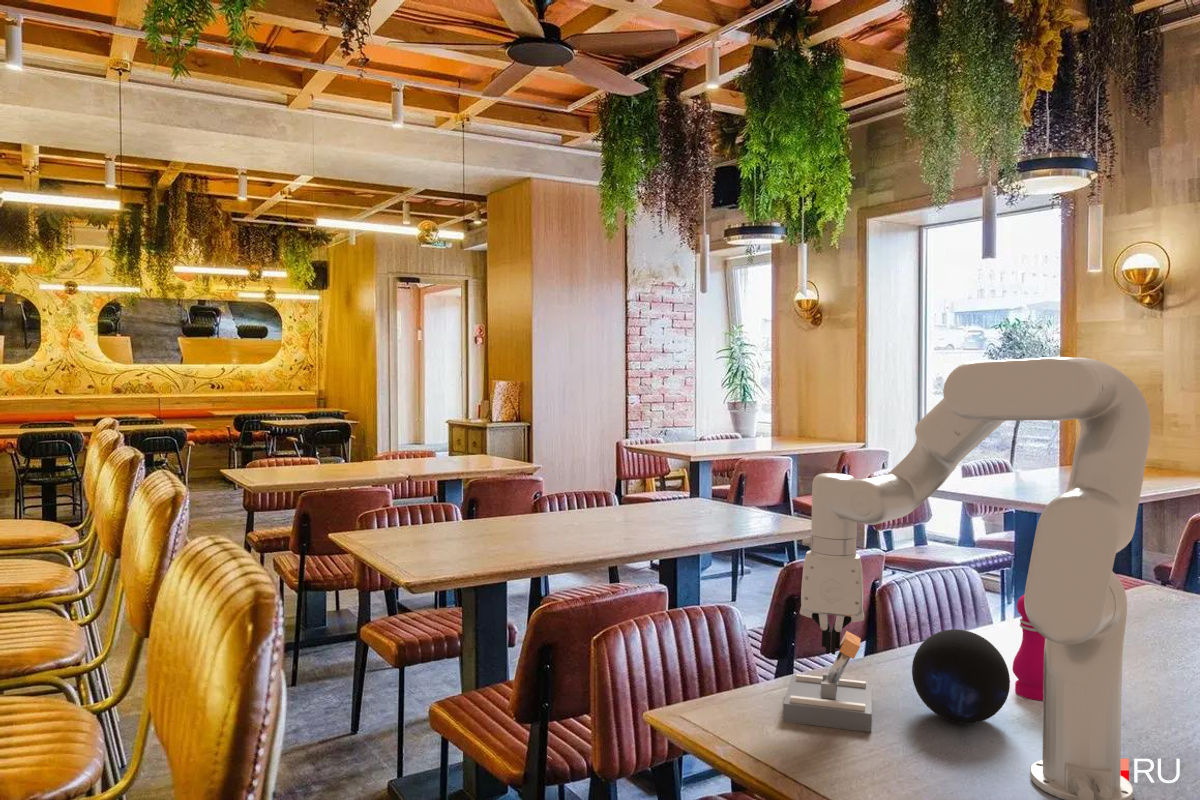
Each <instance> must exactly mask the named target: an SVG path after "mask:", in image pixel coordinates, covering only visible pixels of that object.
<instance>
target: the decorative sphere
mask: <svg viewBox="0 0 1200 800" xmlns="http://www.w3.org/2000/svg"><path fill="white" fill-rule="evenodd" d="M1007 665H1008V664H1007V663H1006V661H1005V658H1004V657H1003V655H1002V654H1001V652H1000V651H999V650H998V649H997V647H995V645H994V644H992V642H990V641H989V640H988V639H986V638H985V637H983V636H981V635H979V634H977V633H974V632H972V631H969V630H965V629H958V628H957V629H956V628H955V629H953V628H951V629H945V630H942V631H938V632H936V633H933V634H932V635H930V636H928V637H927V638H926V639H925V640H924V641H922V643H921V644H920V645H919V646H918V648H917V650H916V651H915V653H914V656H913V660H912V666H911V673H912V674H911V676H912V682H913V686H914V688H915V690H916V693H917V695H918V696H919V698H920V700H921V701H922V702H923V704H925V706H926V707H927V708H928V709H929V710H930V711H932V712H933V713H934V714H935V715H937V716H939V717H940V718H943V719H944V720H946V721H949V722H953V723H957V724H963V725H964V724H965V725H966V724H968V725H969V724H970V725H971V724H976V723H981V722H984V721H986V720H989V719H991V717H993V716H995V715H996V714H997V713H998V712H999V711H1000V710H1001V709H1002V708H1003V706H1004V705H1005V703H1006V701H1007V699H1008V696H1009V693H1010V687H1011V680H1010V679H1011V678H1010V673H1009V668H1008V666H1007Z"/></svg>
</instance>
